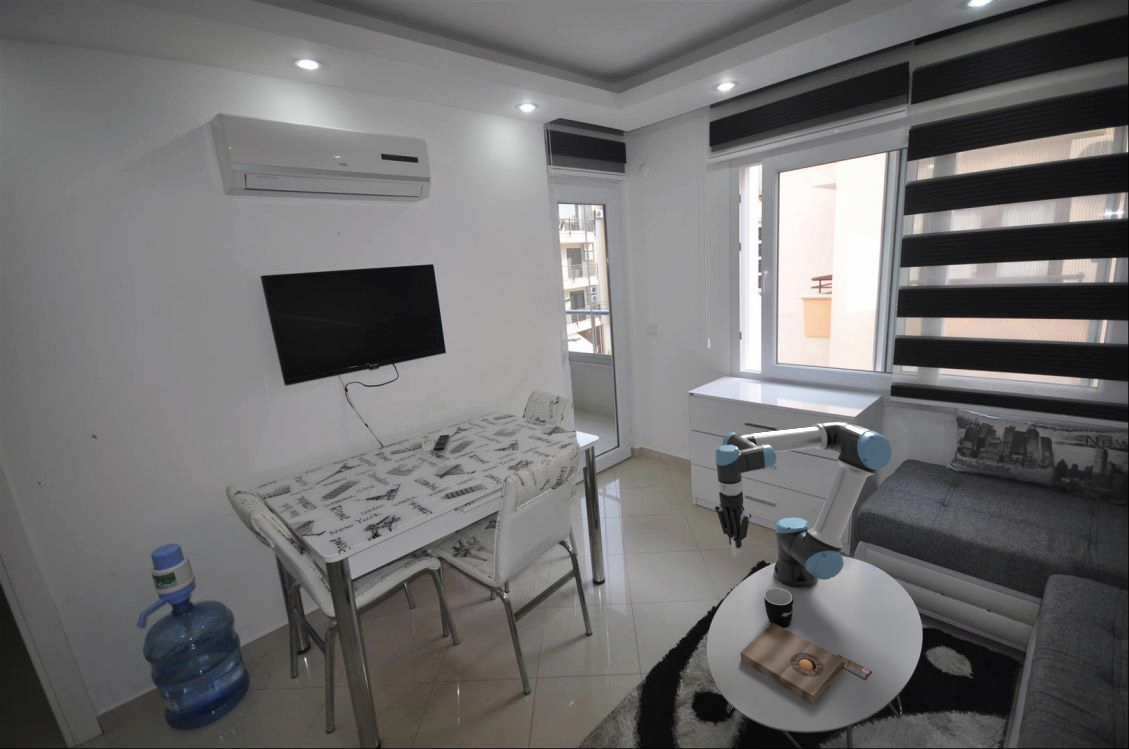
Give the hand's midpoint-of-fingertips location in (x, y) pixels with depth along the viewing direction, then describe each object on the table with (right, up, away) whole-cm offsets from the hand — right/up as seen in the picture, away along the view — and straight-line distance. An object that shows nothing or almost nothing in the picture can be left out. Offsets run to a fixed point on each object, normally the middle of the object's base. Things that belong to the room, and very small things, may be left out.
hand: (736, 554), depth 170 cm
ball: (+13, -26, -22) cm, 36 cm away
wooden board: (+11, -27, -18) cm, 34 cm away
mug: (+16, -23, 0) cm, 28 cm away
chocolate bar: (+27, -26, -22) cm, 44 cm away
